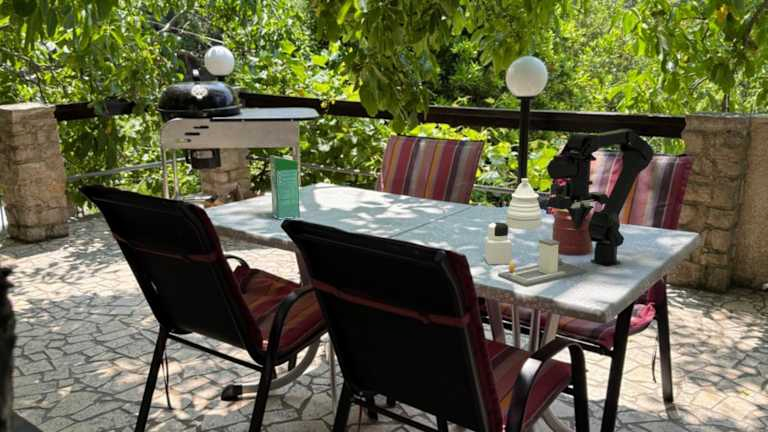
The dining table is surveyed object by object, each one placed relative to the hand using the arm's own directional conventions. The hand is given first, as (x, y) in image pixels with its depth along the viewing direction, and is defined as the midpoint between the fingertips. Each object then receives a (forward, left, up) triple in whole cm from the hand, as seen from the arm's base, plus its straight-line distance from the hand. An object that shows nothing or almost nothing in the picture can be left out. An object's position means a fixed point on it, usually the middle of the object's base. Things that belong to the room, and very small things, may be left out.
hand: (576, 229), depth 216 cm
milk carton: (+41, -117, -13) cm, 125 cm away
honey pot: (-26, -51, -13) cm, 59 cm away
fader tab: (+11, 0, -12) cm, 17 cm away
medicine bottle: (+13, -20, -13) cm, 27 cm away
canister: (-15, -16, -13) cm, 25 cm away
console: (+11, -2, -12) cm, 17 cm away
